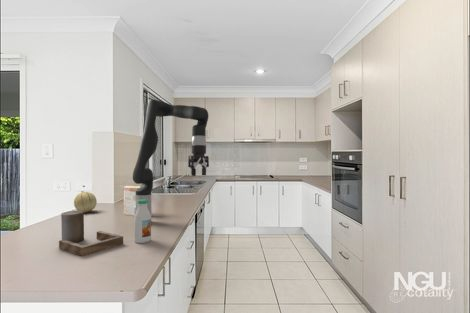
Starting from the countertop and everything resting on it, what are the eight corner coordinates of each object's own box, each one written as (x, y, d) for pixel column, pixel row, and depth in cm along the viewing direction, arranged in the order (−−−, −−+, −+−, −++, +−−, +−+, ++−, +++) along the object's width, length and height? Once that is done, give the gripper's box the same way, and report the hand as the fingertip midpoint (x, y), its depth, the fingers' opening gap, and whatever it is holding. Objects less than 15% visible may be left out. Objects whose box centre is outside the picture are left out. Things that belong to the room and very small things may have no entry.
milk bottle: (135, 244, 139) (135, 201, 139) (133, 240, 146) (133, 199, 146) (152, 242, 143) (152, 200, 142) (149, 238, 149) (149, 198, 149)
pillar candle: (87, 237, 150) (87, 207, 150) (78, 243, 140) (77, 211, 140) (68, 237, 149) (67, 208, 149) (57, 243, 140) (56, 211, 140)
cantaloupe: (90, 214, 205) (90, 192, 204) (69, 214, 205) (69, 192, 205) (100, 210, 219) (100, 190, 219) (80, 210, 220) (80, 190, 219)
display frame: (59, 248, 132) (59, 240, 132) (100, 237, 149) (100, 230, 149) (81, 256, 123) (81, 247, 123) (123, 243, 140) (123, 236, 140)
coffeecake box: (146, 215, 204) (146, 186, 204) (137, 217, 198) (137, 187, 198) (131, 212, 212) (131, 185, 212) (123, 214, 206) (123, 186, 206)
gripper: (201, 145, 165) (201, 175, 165) (184, 144, 153) (184, 175, 153) (212, 145, 161) (212, 175, 161) (195, 143, 149) (195, 176, 149)
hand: (198, 175), depth 157 cm, fingers open, 8 cm apart
